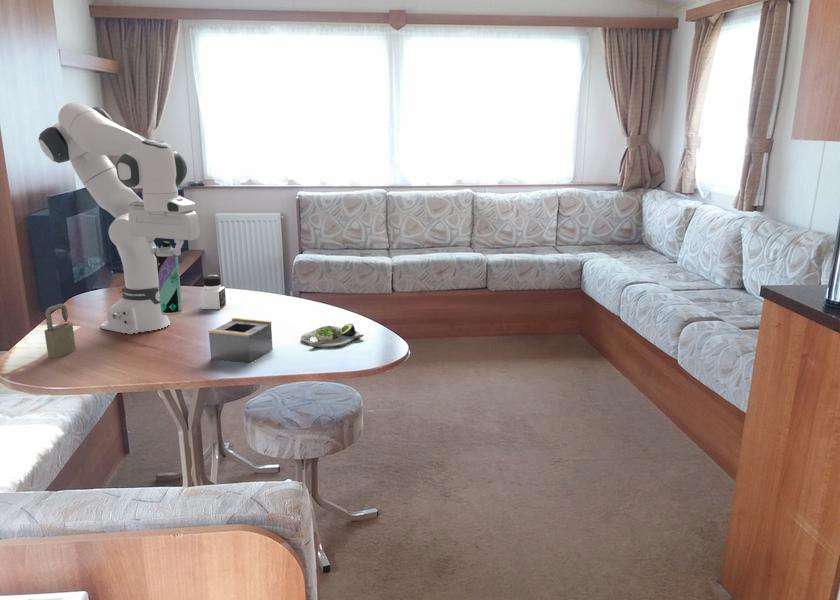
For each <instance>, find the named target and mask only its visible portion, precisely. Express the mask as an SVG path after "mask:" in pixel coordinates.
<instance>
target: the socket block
mask: <svg viewBox="0 0 840 600" xmlns="http://www.w3.org/2000/svg"><path fill="white" fill-rule="evenodd" d="M207 332H208V339H209V348H210V349H209V350H210V360H213V359H216V360H215V361H222V360H224V362H230V361H231V363H238V362H239V363H240V364H247V363H250V364H249V365H251V364H252V362H253V363H254V362H255V360H256V361H257V360H259V359H260V358H262V357H263V356H265V355H266V354H268V353H269V352H271V351H273V349H274V348H273V333H272V332H273V331H272V321H271V320H270V321H268V320H261V319H260V320H258V319H249V318H238V317H232V318H231V320H229V321H228V322H226V323H224V324H222V325H220V326H218V327H216V328H215V329H208V330H207ZM239 363H238V364H239Z"/></svg>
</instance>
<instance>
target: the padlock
mask: <svg viewBox="0 0 840 600" xmlns="http://www.w3.org/2000/svg"><path fill="white" fill-rule="evenodd" d="M57 310H61V313H62V319H63V320H64V322H65V323H64V322H63V323H60V324H57V325H53V319H52V312H54V311H57ZM44 315H45V321H46V329H45V330H44V336H45V337H44V338H45V344H46V345H45V346H46V350H47V351H46V352H47V357H48V358H51V359H56V358H60V357H64V356H66V355H68V354H71V353H73V352H74V351H75V350H76V349H77V347H76V341H75V340H76V339H75V334H74V333H75V332H74V327H73V323H70V322H68V317H69V316H68V307H67V305H66V304H64V303H58V304H55V305H52V306H49V307H47V308H46V310H45V312H44Z"/></svg>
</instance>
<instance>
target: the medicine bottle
mask: <svg viewBox="0 0 840 600" xmlns="http://www.w3.org/2000/svg"><path fill="white" fill-rule="evenodd" d="M202 282H203V283H202V284H203V289H201V290H200V291H199V293H200V295H199V297H200V306H201V310H202V309H219V310H218V311H221V310H222V309H223V308H224V307H225V306H226V305H227V298H226V287H225V286H222V283H221V276H219V275H217V274H209V275H205V276H203V278H202ZM220 309H221V310H220Z"/></svg>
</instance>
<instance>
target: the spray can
mask: <svg viewBox="0 0 840 600" xmlns="http://www.w3.org/2000/svg"><path fill="white" fill-rule="evenodd" d="M174 248H175V247H173V246H172V245H171V244H170V241H167V240H166V241H165V240H164V241H162V244H161V246H160V248H159V250H157V251H156V252H157V253H156V254H155V257H156V259H157V270H158V282H159V293H160V305H161V314H162V315H167V316H177V315H180V314H182V313H183V305H182V294H181V293H182V292H181V280H180V267H179V266H180V265H179V255H178V256H176V255H172V253H173V252H172V249H174Z"/></svg>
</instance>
